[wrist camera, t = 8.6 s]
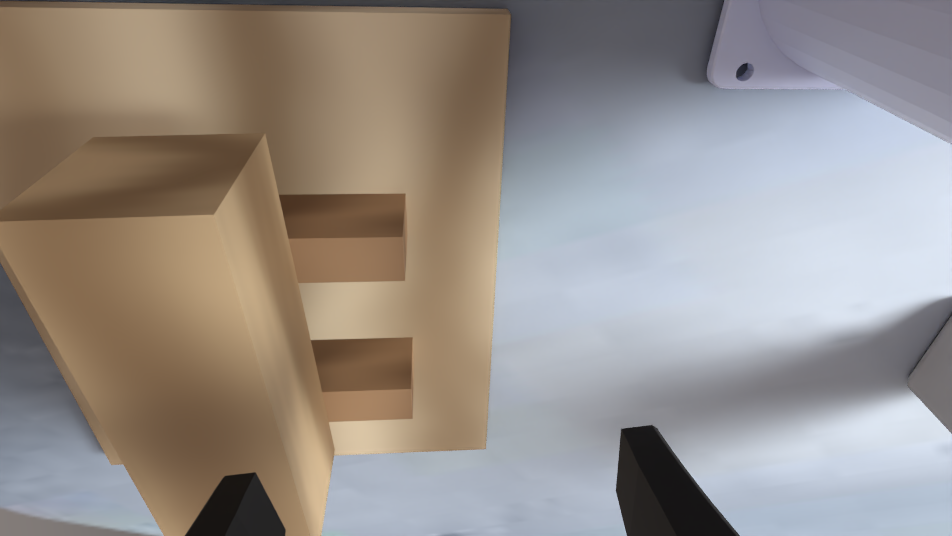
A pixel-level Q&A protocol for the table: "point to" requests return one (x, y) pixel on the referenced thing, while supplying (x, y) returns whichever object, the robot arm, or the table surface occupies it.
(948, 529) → the table surface
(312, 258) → the rail stand
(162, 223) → the oak beam
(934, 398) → the vintage mobile phone
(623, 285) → the table surface
